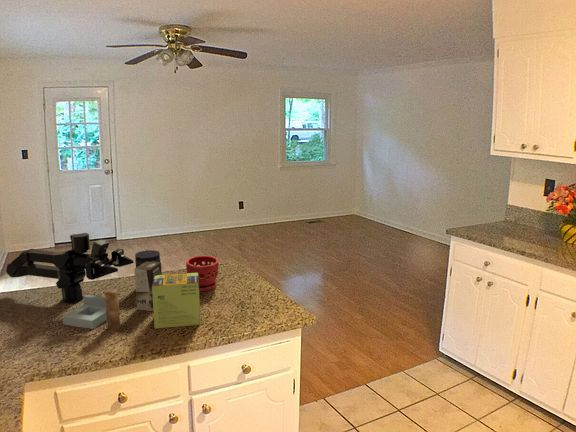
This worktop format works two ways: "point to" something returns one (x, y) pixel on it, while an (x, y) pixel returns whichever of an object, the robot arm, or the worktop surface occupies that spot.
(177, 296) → the protein box
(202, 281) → the plant pot
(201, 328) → the worktop surface
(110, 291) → the peg
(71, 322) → the socket block
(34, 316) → the worktop surface
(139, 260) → the storage jar
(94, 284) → the worktop surface
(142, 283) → the coffee box
